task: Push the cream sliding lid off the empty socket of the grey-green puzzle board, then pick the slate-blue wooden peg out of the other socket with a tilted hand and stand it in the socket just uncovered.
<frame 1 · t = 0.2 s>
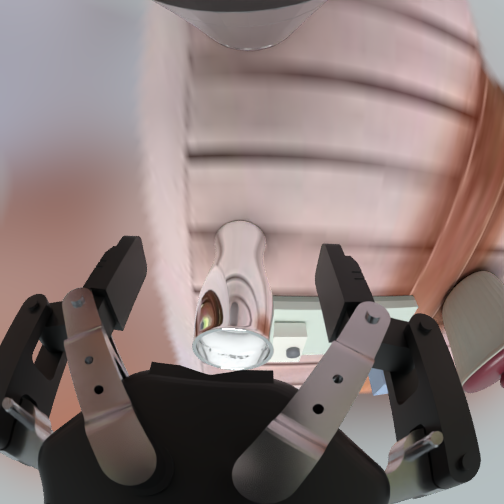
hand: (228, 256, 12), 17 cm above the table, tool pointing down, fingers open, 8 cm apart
board: (326, 322, 42), on the table
peg: (371, 325, 42), point 1 cm above the table, touching board
lid: (278, 345, 39), point 4 cm above the table, slide at 0.0 cm
canister: (465, 292, 39), on the table
beer glass: (240, 241, 33), on the table
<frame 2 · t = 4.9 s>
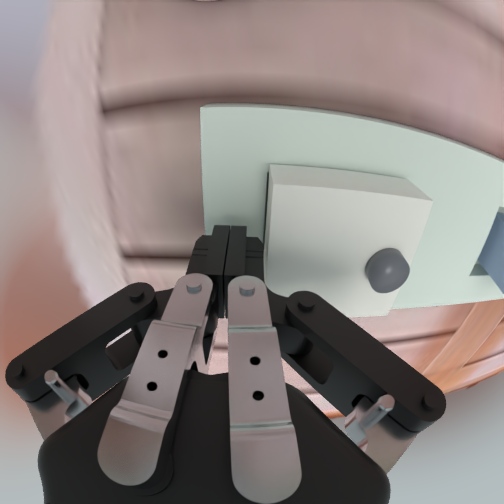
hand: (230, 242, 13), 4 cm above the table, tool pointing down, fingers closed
board: (421, 219, 16), on the table
peg: (494, 234, 15), point 1 cm above the table, touching board
lid: (341, 253, 12), point 4 cm above the table, slide at 0.6 cm, touching gripper
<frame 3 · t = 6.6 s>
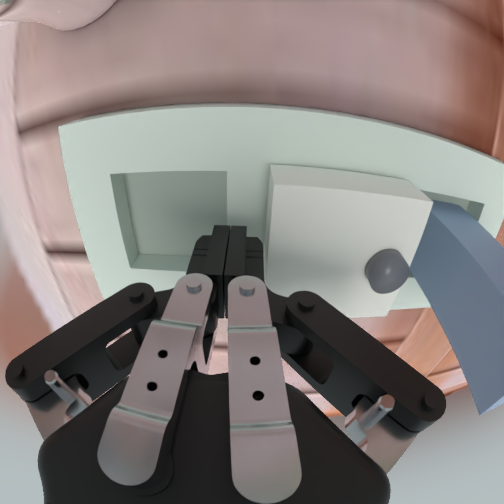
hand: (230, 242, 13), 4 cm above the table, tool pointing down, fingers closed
board: (315, 210, 16), on the table
peg: (429, 227, 15), point 1 cm above the table, touching board
lid: (341, 254, 12), point 4 cm above the table, slide at 8.4 cm, touching gripper
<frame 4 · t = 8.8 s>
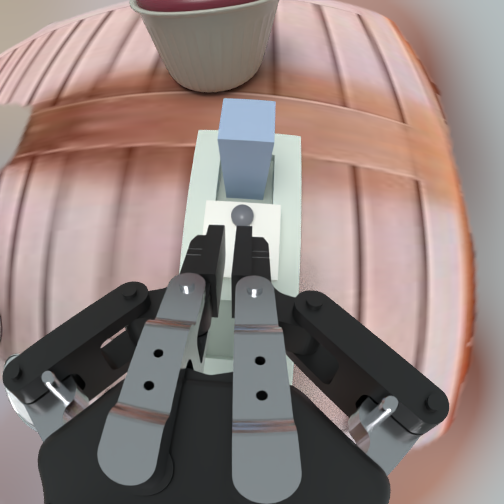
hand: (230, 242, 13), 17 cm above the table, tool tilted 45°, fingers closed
board: (240, 254, 30), on the table
peg: (245, 182, 30), point 1 cm above the table, touching board
lid: (240, 240, 26), point 4 cm above the table, slide at 8.6 cm
canister: (215, 69, 35), on the table
beer glass: (109, 361, 28), on the table
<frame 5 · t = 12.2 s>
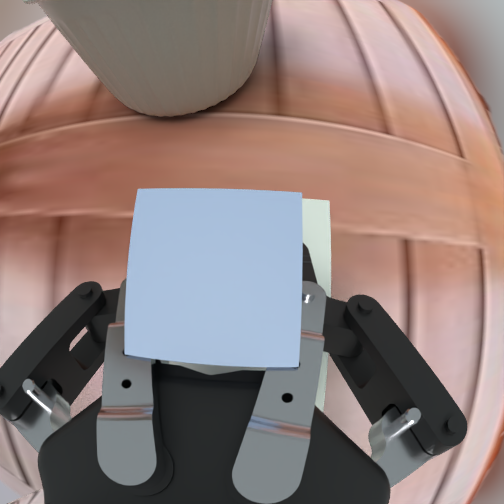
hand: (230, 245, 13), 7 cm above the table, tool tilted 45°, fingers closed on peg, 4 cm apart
board: (230, 401, 17), on the table
peg: (233, 291, 18), point 1 cm above the table, touching board, gripper
lid: (227, 419, 13), point 4 cm above the table, slide at 8.6 cm
canister: (185, 77, 22), on the table
beer glass: (83, 487, 15), on the table
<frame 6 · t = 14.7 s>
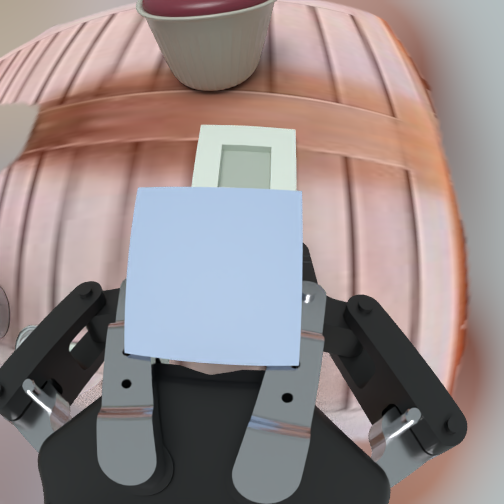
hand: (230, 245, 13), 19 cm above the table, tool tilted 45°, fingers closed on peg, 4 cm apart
board: (241, 237, 32), on the table
peg: (233, 290, 18), point 14 cm above the table, touching gripper
canister: (215, 70, 37), on the table
beer glass: (115, 343, 30), on the table
when the fingers open (8 cm above the table, at t = 17.4 s): peg drops 1 cm, resting on board.
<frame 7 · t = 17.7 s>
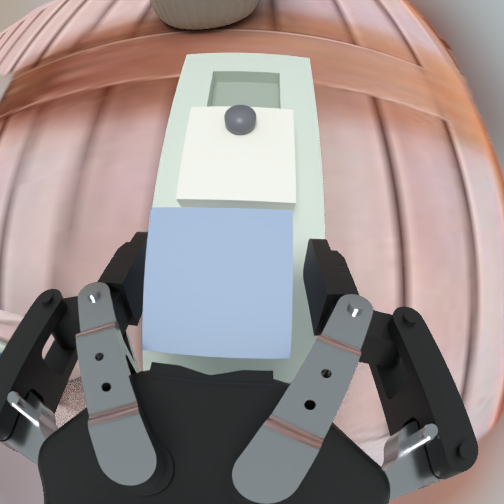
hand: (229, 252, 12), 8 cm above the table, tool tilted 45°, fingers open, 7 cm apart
board: (239, 188, 21), on the table
peg: (234, 292, 19), point 1 cm above the table, touching board
lid: (238, 154, 17), point 4 cm above the table, slide at 8.6 cm
canister: (208, 13, 26), on the table
beer glass: (64, 346, 19), on the table
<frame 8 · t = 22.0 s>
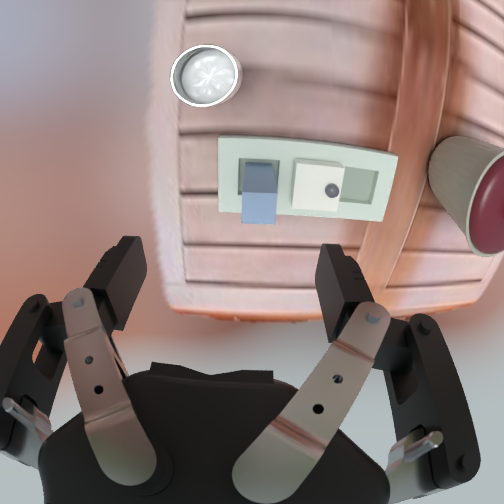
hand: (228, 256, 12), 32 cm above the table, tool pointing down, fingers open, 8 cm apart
board: (308, 175, 42), on the table
peg: (257, 174, 41), point 1 cm above the table, touching board
lid: (317, 186, 39), point 4 cm above the table, slide at 8.6 cm
canister: (449, 166, 40), on the table
beer glass: (221, 78, 34), on the table
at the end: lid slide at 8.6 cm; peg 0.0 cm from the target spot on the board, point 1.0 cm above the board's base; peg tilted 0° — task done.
